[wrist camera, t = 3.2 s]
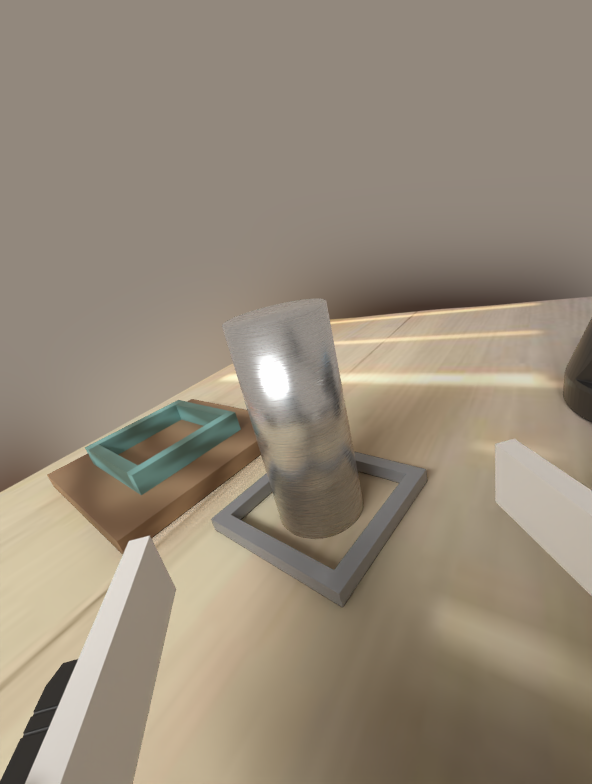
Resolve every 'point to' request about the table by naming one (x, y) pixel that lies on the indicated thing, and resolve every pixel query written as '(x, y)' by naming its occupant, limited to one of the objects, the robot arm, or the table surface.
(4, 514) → the table surface
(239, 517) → the frame
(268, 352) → the billet
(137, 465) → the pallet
